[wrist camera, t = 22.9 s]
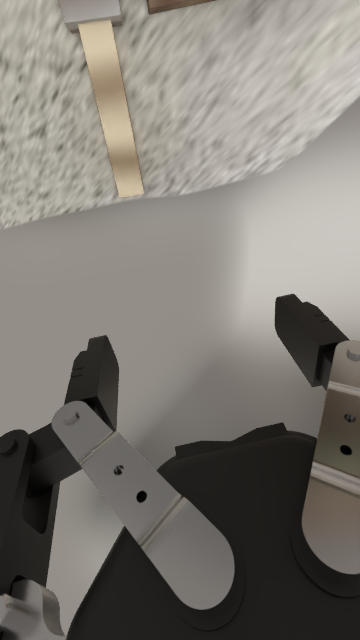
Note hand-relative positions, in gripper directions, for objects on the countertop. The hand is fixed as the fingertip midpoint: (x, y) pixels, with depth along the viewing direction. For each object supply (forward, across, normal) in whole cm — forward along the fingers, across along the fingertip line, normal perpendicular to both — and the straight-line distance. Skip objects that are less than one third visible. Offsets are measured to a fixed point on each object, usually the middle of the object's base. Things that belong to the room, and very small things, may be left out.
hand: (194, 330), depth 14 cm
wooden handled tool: (+30, -2, +10) cm, 32 cm away
